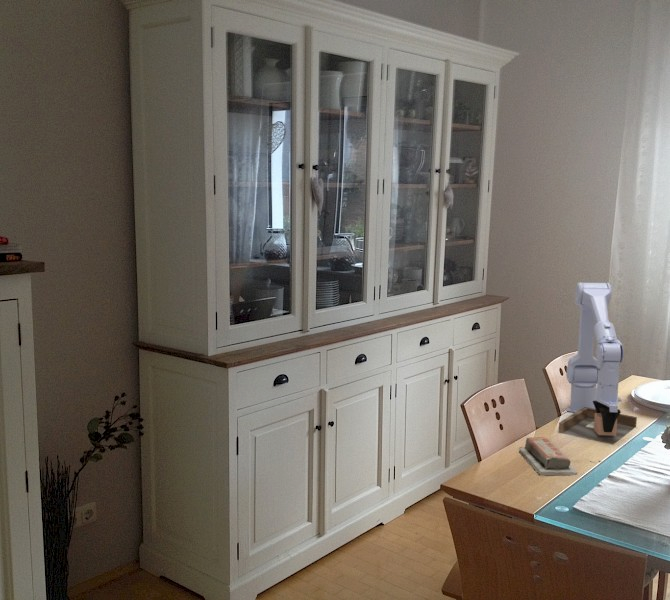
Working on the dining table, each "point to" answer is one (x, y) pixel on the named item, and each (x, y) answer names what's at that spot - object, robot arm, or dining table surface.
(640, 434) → the dining table surface
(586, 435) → the tray
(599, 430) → the cube
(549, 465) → the packaged product
